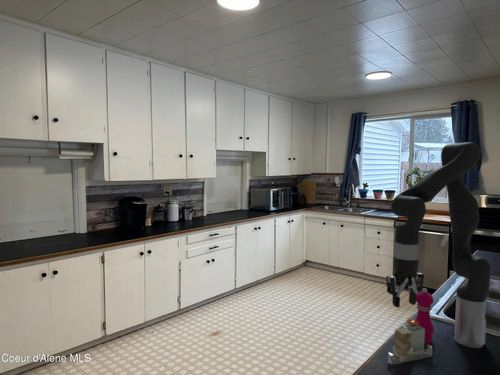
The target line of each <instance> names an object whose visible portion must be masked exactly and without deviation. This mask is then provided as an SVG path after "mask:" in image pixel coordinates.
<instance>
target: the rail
mask: <svg viewBox="0 0 500 375" xmlns="http://www.w3.org/2000/svg"><path fill="white" fill-rule="evenodd" d="M431 357H433V346H432V345H431V344H430V343H428V344H426V348H424V350H420V351H415V352H413V353H412V359H411V360H407V361H402V362H399V358H398V357H397V356H393V353H391V352H388V353H387V364H388V363H390V364H391V365H390V364H389V365H390V366H395V365H394V364H396V365H400V364H404V363H407V362H412V361H417V360H423V359H425V358H431ZM392 364H393V365H392Z"/></svg>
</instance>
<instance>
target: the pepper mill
mask: <svg viewBox="0 0 500 375" xmlns="http://www.w3.org/2000/svg"><path fill="white" fill-rule="evenodd" d="M433 304H434V298H433V295H432V294H431V293H430V292H428V289H427V288H426V287H425V288H423V287H422V291H421V292H420V291H419V292H418V293H417V297H416V308H417V316H416V318H415V320H417V321H419V325H418V326H420V327H422V328H424V329H425V338H424V344H426V345H428V344H431V343H432V342H433V336H432V335H433V334H434V332H435V330H434V329H435V328H434V324H433V322H432V319H431V313H430V312H431V311H432V305H433Z"/></svg>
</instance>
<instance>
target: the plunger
mask: <svg viewBox="0 0 500 375" xmlns="http://www.w3.org/2000/svg"><path fill="white" fill-rule="evenodd" d="M415 319H416V318H415ZM415 319H414V318H408V319H407V321H406V323H407V324H408V328H409V329H411V330H412V331H414V330H417V327H418V325H419V321H417V320H415Z"/></svg>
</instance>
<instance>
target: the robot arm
mask: <svg viewBox="0 0 500 375" xmlns="http://www.w3.org/2000/svg"><path fill="white" fill-rule="evenodd" d="M440 159H441V167H439V168H437V169H435V170H432V171H431V172H429V173H428V174H426V175H424V176H423V177H422V178H421V179H420V180H419V181H417V183H415V184H414V186H412V187H409V188H407V189H406V190H404V191H402V192H400V193H398V194H397V195H396V196H395V197H394V198H393V200H392V201H391V205H390V208H391V212H392V213H393V214H394V215H395V216H397V217H401V218H406V221H405V223H401V224H398V225H397V226H396V227H395V237H394V238H395V239H394V246H393V247H394V248H393V270H394V274H393V275H391V276H390V275H387V276H386V291H387V293H388V294H390V295H391V296H392V302H391V303H392V305H393V306H394V307H395V308H400V307H401V293H402V292H403V291H404V289H405V288H406V287H408V290H409V293H408V303H409V304H411V305H413V306H415V305H417V301H416V297H417V293H419V292H422V289H423V285H424V280H425V275H424V274H423V273H421V272H418V271H419V260H420V259H419V258H420V248H419V242H420V241H419V237H420V230H421V227H422V224H423V221H424V217H425V214H426V211H427V208H426V207H427V206H426V204H427V203H429V202H431V201H432V200H433V199H434V198H435V197H436V196H437V195H438V194H439V193H440V192H441V191H442V190H443V189H444V188H445V187H446V192H447V199H448V211H449V213H448V214H449V219H450V229H451V238H452V240H451V241H452V247H451V248H452V254H451V256H452V258H451V261H452V262H451V264H452V268H453V271H454V273H455V274H456V275H457V276H460V277H461V278H464V279H466V280H467V285H462V286H458V287H457V288H456V295H455V296H456V297H455V315H454V317H455V318H454V336H453V337H454V341H455V342H456V343H458V344H460V345H461V346H464V347H467V348H471V349H481V348H483V347H484V345H485V344H486V332H487V331H486V328H487V319H486V303H487V302H486V301H487V295H488V293H489V290H490V282H491V281H490V280H491V275H492V274H491V270H492V269H491V265H490V262H489V261H488V259H486V258H484V257H482V256H479V255H475V254H472V252H471V240H472V236H474V233H475V231H476V230H477V228H478V226H479V222H480V210H479V203H478V201H477V199H476V197H475V196H474V194H473V193H472V191H471V190H470V189H469V188H468V187H467V185H466V184H465V182H464V179H463V178H462V176H463V175H464V174H465V173H467V172H468V171H469V170H471V169H473V168H474V167H475V166H476V165H478V163H479V162H480V160H481V150H480V147H479V146H478V144H476V143H475V142H469V141H466V142H456V143H448V144H445V145H444V146H443V147H442V149H441V152H440Z"/></svg>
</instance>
